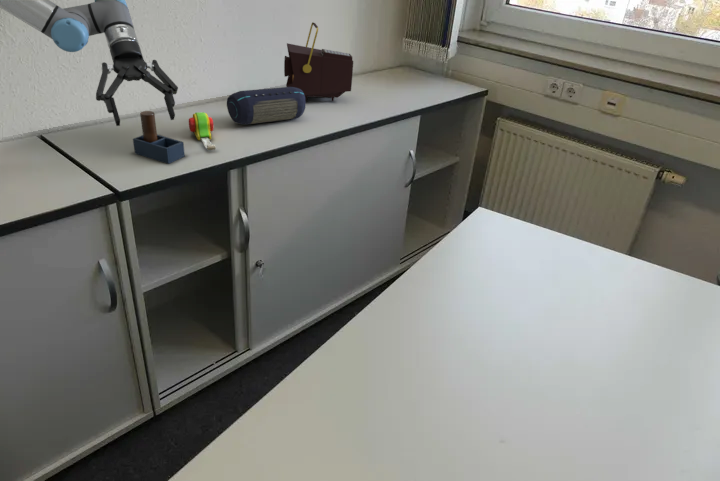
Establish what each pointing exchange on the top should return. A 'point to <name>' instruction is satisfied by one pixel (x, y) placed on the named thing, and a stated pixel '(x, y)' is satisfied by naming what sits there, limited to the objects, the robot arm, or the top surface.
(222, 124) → the top surface
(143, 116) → the brown cylinder
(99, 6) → the robot arm
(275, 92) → the portable speaker
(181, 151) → the divided box
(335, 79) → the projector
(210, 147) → the toy measuring tape
